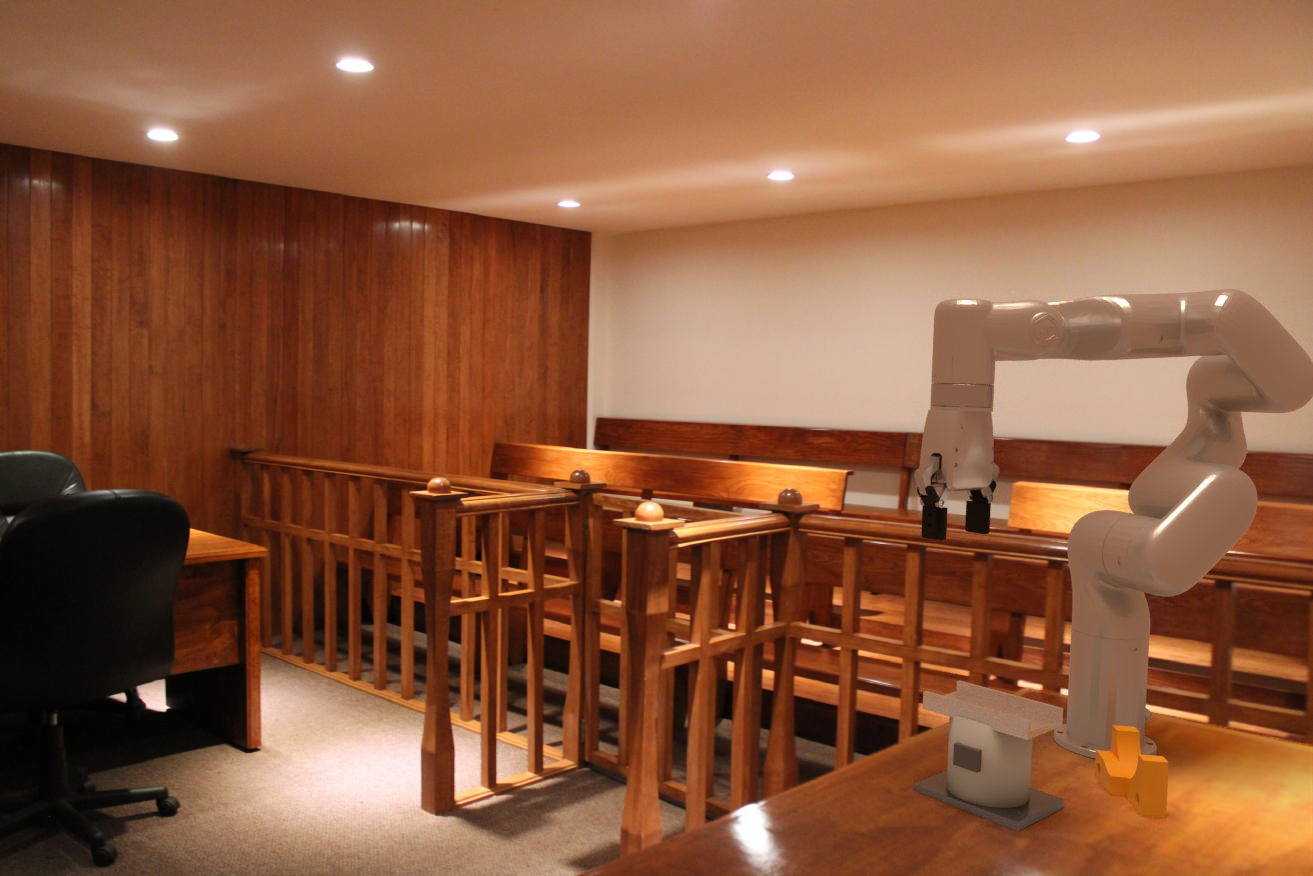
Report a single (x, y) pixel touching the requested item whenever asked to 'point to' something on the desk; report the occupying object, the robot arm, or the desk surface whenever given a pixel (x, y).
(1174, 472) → the robot arm
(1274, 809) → the desk surface
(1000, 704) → the cylinder with tray top
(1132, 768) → the pipe clamp
